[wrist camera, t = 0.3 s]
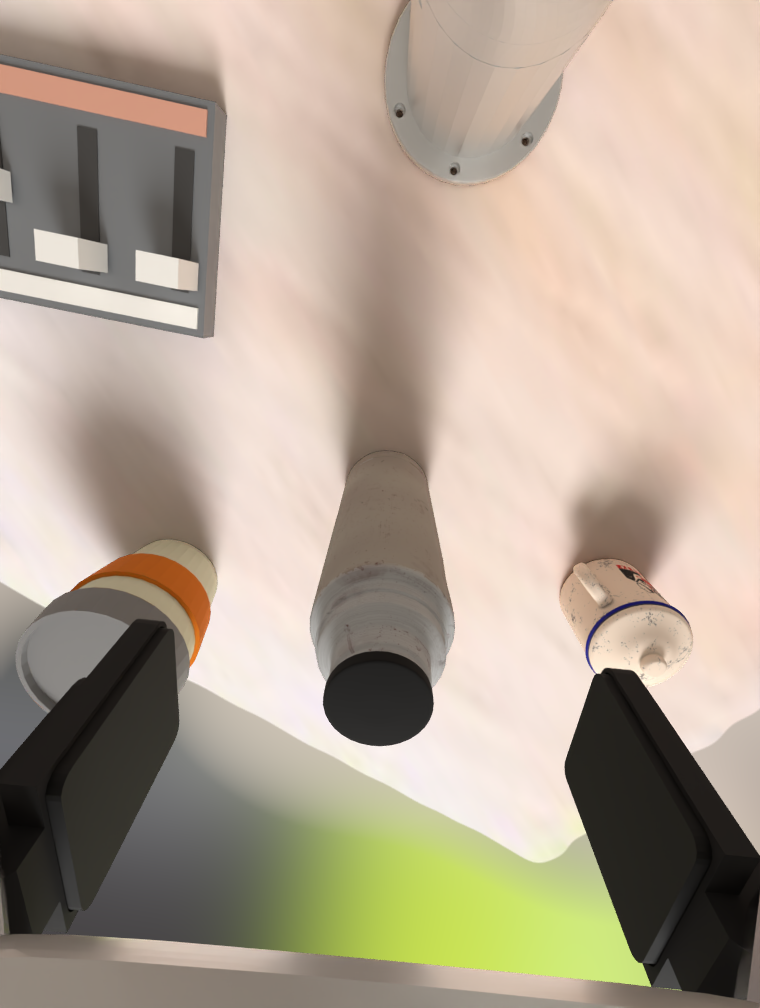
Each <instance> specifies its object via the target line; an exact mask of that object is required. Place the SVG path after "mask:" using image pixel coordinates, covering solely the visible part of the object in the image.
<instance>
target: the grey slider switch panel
mask: <svg viewBox="0 0 760 1008" xmlns="http://www.w3.org/2000/svg"><path fill="white" fill-rule="evenodd" d="M226 120H227V115H226V114H225V113H224V111H223V110H222V109H221V108H220V107H219V106H218V104H217V103H216V102H213V101H209V100H204V99H200V98H195V97H191V96H186V95H182V94H177V93H173V92H168V91H164V90H159V89H155V88H150V87H146V86H141V85H137V84H132V83H127V82H123V81H118V80H114V79H109V78H105V77H100V76H96V75H91V74H87V73H82V72H78V71H73V70H69V69H64V68H60V67H55V66H51V65H46V64H42V63H37V62H33V61H28V60H24V59H19V58H15V57H10V56H6V55H1V54H0V168H1V169H4V170H6V171H9V172H10V175H11V188H12V201H13V203H10V202H6V201H1V200H0V298H4V299H9V300H14V301H19V302H24V303H29V304H34V305H39V306H44V307H49V308H54V309H59V310H64V311H69V312H74V313H79V314H84V315H89V316H94V317H99V318H104V319H109V320H115V321H120V322H125V323H130V324H135V325H140V326H145V327H150V328H155V329H160V330H165V331H170V332H175V333H180V334H185V335H190V336H195V337H200V338H207V337H214V320H215V304H216V287H217V270H218V254H219V237H220V220H221V204H222V187H223V170H224V153H225V137H226Z"/></svg>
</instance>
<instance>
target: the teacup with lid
mask: <svg viewBox="0 0 760 1008" xmlns="http://www.w3.org/2000/svg"><path fill="white" fill-rule="evenodd" d="M573 570H574V572H573V573H572V574H571V575H570V576H569V577H568V578H567V580H566V581H565V583H564V585H563V587H562V590H561V594H560V606H561V609H562V612H563V614H564V616H565V617H566V619H567V621H568V623H569V625H570V626H571V628H572V630H573V632H574V633H575V635H576V637H577V639H578V641H579V642H580V644H581V646H582V648H583V649H584V651H585V653H586V658H587V661H588V664H589V666H590V667H591V669H592V670H593V671H594V673H595V674H598V673H600V674H601V672H602V670H603V669H604V668H616V669H626V670H632V671H634V672H635V673H636V674H637V675H638V676H639V678H640V679H641V681H642V682H643V684H644V685H645V687H651V686H654V685H657V684H659V683H662V682H664V681H666V680H667V679H669V678H671V677H672V676H673V675H675V674H676V673H677V672H678V671H679V670H680V669H681V668H682V667H683V666H684V664H685V663H686V661H687V660H688V658H689V656H690V654H691V651H692V646H693V635H692V631H691V627H690V625H689V622H688V621H687V619H686V618H685V616H684V615H683V614H682V613H681V612H680V611H679V610H677V609H676V608H674V607H672V606H670V604H669V603H668V602H667V601H666V600H665V599H664V598H663V597H662V596H661V595H660V594H659V593H658V592H657V591H656V590H655V588H654V587H653V586H652V585H651V584H650V583H649V582H648V581H647V580H646V579H645V578H644V577H643V576H642V575H641V574H640V573H639V571H638V570H637V569H635V568H634V567H633V566H632V565H630V564H628V563H626V562H624V561H621V560H616V559H599V560H595V561H591V562H589V563H586V564H585V563H579V564H577V565H575V566H574V568H573Z"/></svg>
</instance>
